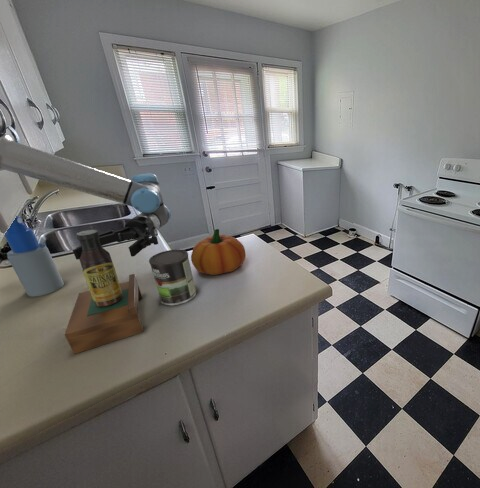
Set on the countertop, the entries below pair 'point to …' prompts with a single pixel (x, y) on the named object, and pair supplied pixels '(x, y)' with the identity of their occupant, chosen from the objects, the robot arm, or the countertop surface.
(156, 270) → the large food can
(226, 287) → the countertop surface
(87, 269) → the sauce bottle
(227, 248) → the pumpkin
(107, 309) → the brown wooden box
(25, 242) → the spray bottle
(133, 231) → the robot arm
